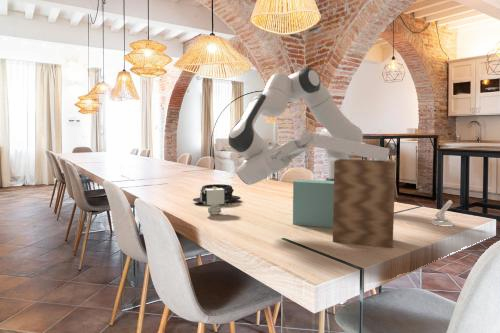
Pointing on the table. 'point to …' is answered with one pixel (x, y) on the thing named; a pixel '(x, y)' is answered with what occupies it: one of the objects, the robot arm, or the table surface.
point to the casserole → (227, 187)
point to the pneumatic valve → (214, 199)
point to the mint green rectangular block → (313, 203)
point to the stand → (364, 202)
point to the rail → (347, 146)
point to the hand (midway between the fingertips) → (312, 137)
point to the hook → (442, 215)
